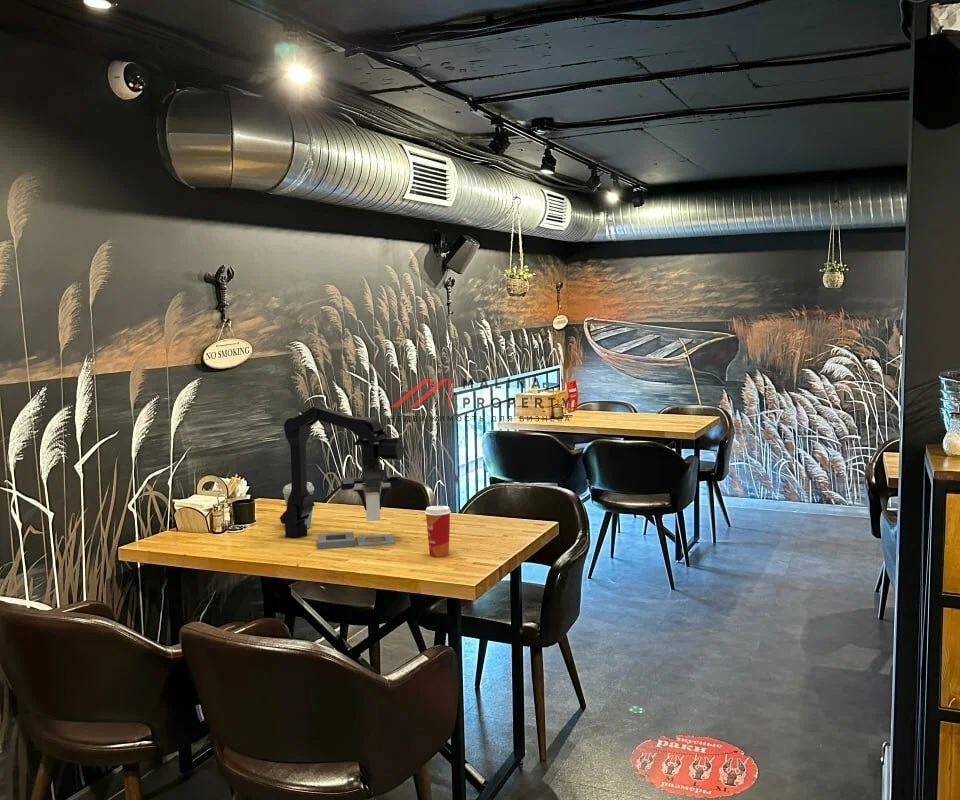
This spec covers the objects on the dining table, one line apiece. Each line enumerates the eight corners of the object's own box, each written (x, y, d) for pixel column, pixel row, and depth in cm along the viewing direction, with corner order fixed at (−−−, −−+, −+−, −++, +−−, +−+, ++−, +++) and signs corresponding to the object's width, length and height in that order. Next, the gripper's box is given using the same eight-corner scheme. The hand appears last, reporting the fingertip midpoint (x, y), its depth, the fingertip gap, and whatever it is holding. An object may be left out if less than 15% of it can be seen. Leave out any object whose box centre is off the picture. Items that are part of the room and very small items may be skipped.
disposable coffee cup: (309, 531, 281) (307, 487, 280) (278, 531, 283) (276, 487, 281) (320, 524, 291) (318, 481, 290) (291, 523, 293) (289, 481, 292)
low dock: (358, 551, 254) (358, 544, 253) (356, 542, 264) (356, 536, 264) (395, 548, 256) (394, 542, 255) (391, 540, 266) (391, 533, 266)
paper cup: (427, 551, 252) (426, 505, 250) (453, 551, 251) (451, 504, 250) (424, 558, 244) (423, 510, 243) (451, 558, 244) (449, 510, 242)
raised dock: (318, 554, 251) (317, 542, 251) (318, 545, 262) (317, 534, 262) (355, 551, 253) (354, 540, 253) (353, 542, 264) (353, 531, 264)
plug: (367, 521, 257) (365, 495, 256) (366, 518, 260) (365, 493, 260) (380, 520, 257) (379, 494, 257) (379, 517, 261) (378, 492, 261)
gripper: (340, 465, 248) (342, 517, 249) (403, 461, 251) (405, 512, 252) (339, 460, 259) (342, 510, 260) (400, 456, 262) (402, 505, 263)
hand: (373, 509), depth 259 cm, fingers closed on plug, 4 cm apart
